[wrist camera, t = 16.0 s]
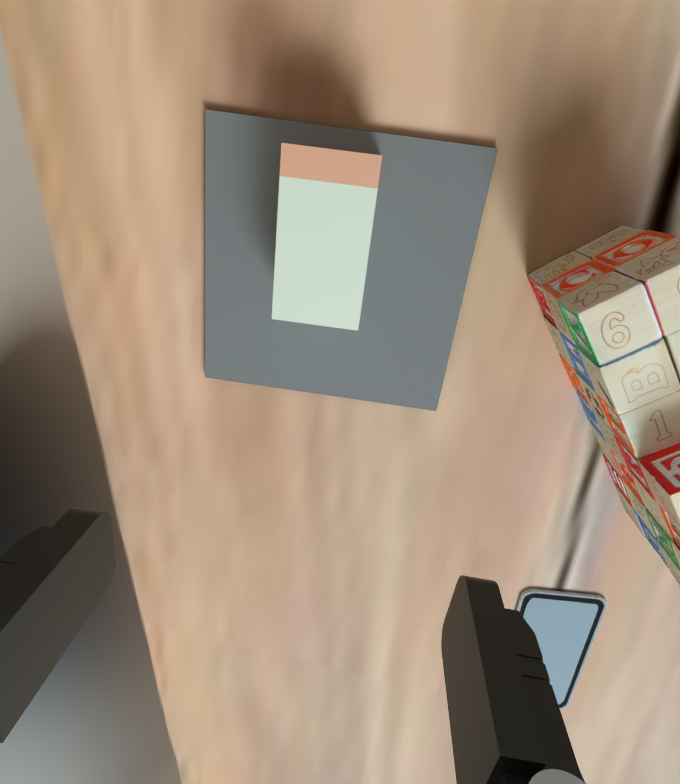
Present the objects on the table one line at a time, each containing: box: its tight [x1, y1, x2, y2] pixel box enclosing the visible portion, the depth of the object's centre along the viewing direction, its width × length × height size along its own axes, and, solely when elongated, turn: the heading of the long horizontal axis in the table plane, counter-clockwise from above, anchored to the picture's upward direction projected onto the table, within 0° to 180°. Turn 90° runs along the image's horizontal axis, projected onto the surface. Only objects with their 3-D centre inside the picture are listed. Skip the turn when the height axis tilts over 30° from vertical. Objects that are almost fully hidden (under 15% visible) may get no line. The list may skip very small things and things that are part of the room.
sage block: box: [272, 143, 382, 331], centre depth 27 cm, size 5×5×9 cm
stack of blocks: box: [527, 226, 680, 584], centre depth 27 cm, size 21×6×12 cm, turn 31°
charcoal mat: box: [205, 109, 498, 411], centre depth 31 cm, size 17×17×1 cm
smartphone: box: [516, 588, 607, 709], centre depth 44 cm, size 7×1×15 cm
